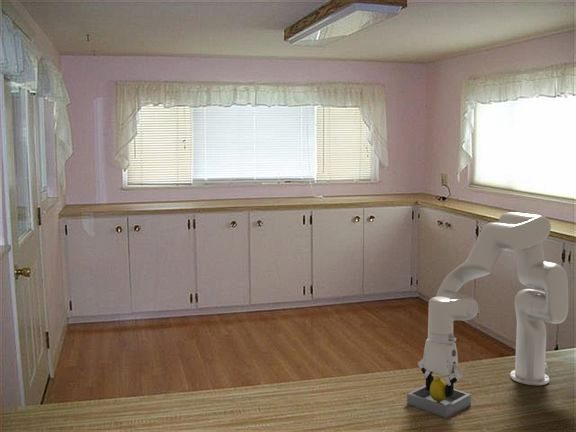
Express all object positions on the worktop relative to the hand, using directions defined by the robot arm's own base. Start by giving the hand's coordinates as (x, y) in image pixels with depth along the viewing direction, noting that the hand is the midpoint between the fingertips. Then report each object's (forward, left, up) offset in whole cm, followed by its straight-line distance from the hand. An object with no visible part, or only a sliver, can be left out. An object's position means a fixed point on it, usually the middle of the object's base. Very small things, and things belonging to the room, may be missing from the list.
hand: (439, 392), depth 181 cm
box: (0, 0, -4) cm, 4 cm away
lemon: (0, 0, -4) cm, 4 cm away
